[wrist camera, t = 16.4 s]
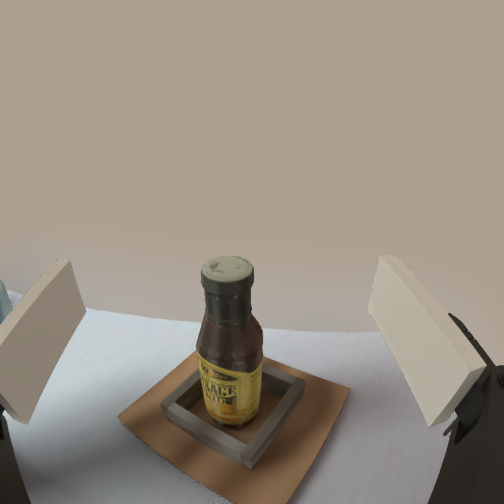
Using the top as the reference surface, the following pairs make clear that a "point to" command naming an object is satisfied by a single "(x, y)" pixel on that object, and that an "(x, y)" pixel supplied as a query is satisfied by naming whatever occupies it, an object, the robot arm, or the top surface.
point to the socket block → (240, 431)
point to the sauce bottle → (230, 343)
